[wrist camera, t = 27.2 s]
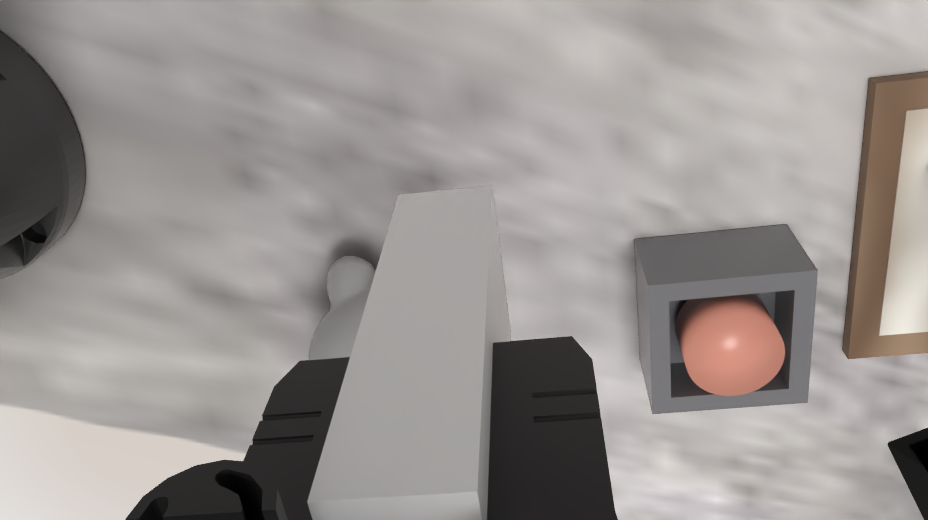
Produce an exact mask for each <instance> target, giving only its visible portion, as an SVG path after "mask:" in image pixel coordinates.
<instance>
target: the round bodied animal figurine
mask: <svg viewBox="0 0 928 520" xmlns="http://www.w3.org/2000/svg"><path fill="white" fill-rule="evenodd" d="M374 275H375V269H374V267H373V266H372V265H371V264H370V263H369V262H368V261H366V260H364V259H361V258H359V257H355V256H344V257H341V258H339V259H337V260H336V261H335V262H334V263H333V264H332V265H331V266H330V268H329V271H328V275H327V291H328V296H329V300H330V304H331V308H330V310H329V312H328V313H327V314H326V315H325V317H324V318H323V319H322V320H321V322H320V323H319V325H318V327H317V329H316V331H315V333H314V335H313V338H312V341H311V345H310V350H309V360H318V359H331V358H343V357H350V356H351V353H352V349H353V346H354V342H355V339H356V336H357V332H358V329H359V326H360V322H361V319H362V316H363V312H364V309H365V305H366V302H367V299H368V295H369V292H370V289H371V285H372V282H373V278H374Z"/></svg>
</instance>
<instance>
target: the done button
mask: <svg viewBox="0 0 928 520" xmlns="http://www.w3.org/2000/svg"><path fill="white" fill-rule="evenodd" d="M675 332H676V336H677V340H678V343H679V346H680V349H681V353H682V356H683V359H684V362H685V365H686V368H687V372H688V374H689V376H690V377H691V379H692V380H693V381H694V383H695V384H696V385H698V386H699V387H700V388H702V389H703V390H705V391H707V392H710V393H713V394H716V395H721V396H737V395H743V394H747V393H750V392H753V391H755V390H758V389H760V388H761V387H763V386H765V385H766V384H767V383H769V382H770V381H771V380H772V379H773V378H774V377H775V376H776V375H777V373H778V372H779V370H780V369H781V366H782V364H783V361H784V357H785V346H784V342H783V339H782V337H781V335H780V333H779V331H778V329H777V328H776V326H775V324H774V322H773V320H772V318H771V316H770V314H769V312H768V310H767V308H766V306H765V304H764V303H763V301H762V300H761V299H760V298H759V297H758V296H757V295H756V294H745V295H733V296H722V297H711V298H700V299H689V300H688V301H687V302H686V303H685V304H684V305H683V307H682V308H681V310H680V311H679V313H678V316H677V318H676V323H675Z"/></svg>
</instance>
